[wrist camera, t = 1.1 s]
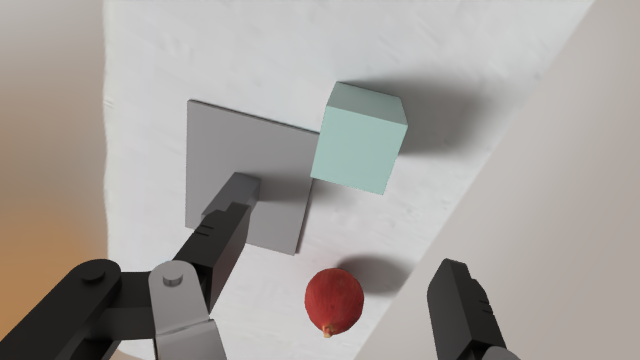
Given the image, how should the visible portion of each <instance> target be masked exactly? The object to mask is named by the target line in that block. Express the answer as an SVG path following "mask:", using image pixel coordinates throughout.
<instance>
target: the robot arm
mask: <svg viewBox="0 0 640 360" xmlns="http://www.w3.org/2000/svg"><path fill="white" fill-rule="evenodd" d="M250 215H251V205H248V204H244V203H240V202H237V201H232V202H231V204H230V205H229V207H228V208H227V210H226V211H221V210H218V209H216V210H215V211H213V212H211V213H209V214H208V215H206V216H205V217H204V219H203V220H202V221H201V223H200V224H199V226H198V227H197V228H196V229H195V231H194V233H192V235H191V236H190V237H189V239H188V240H187V241H186V243H185V244H184V245H183V246H182V248H181V249H180V250H179V252H178V253H177V254H176V256H175V257H174V258H173V260H172V261H168V262H164V263H162V264H160V265H158V266H157V267H155V268H154V269H153V270H152V271H148V272H121V269H120V267H119V265H118V264H117V263H115V262H114V261H111V260H107V259H95V260H90V261H87V262H84V263H82V264H80V265H78V266H76V267H75V268H73V269H72V270H71V271H70V272H69V273H68V274H67V275H66V276H65V277H64V278H63V279H62V280H61V281H60V282H59V283H58V284H57V285H56V286H55V287H54V288H53V289H52V290H51V291H50V292H49V293H48V294H47V295H46V296H45V297H44V298H43V299H42V300H41V301H40V302H39V303H38V304H37V305H36V307H34V308H33V309H32V310H31V311H30V312H29V313H28V314H27V315H26V316H25V317H24V318H23V319H22V321H20V322H19V323H18V324H17V326H15V327H14V328H13V329H12V330H11V331H10V332H9V333H8V334H7V335H6V336H5V337H4V338H3V340H2V341H1V342H0V360H109V359H110V358H111V356H112V355H113V353H114V352H115V350H116V349H117V347H118V346H119V344H120V342H121V341H122V340H138V339H152V340H153V347H154V355H155V360H227V357H226V354H225V351H224V348H223V344H222V341H221V338H220V334H219V331H218V328H217V325H216V322H215V321H214V319H210V317H209V315H210V313H211V311H212V309H213V307H214V305H215V303H216V301H217V299H218V297H219V295H220V293H221V291H222V289H223V287H224V285H225V283H226V281H227V280H228V278H229V276H230V274H231V272H232V270H233V268H234V266H235V264H236V262H237V260H238V258H239V256H240V254H241V252H242V250H243V248H244V246H245V243H246V240H247V235H248V229H249V222H250ZM427 302H428V307H429V313H430V318H431V324H432V329H433V335H434V340H435V346H436V351H437V357H438V360H520V359H519V358H518V357H517V356H516V355H515V354H513V353H512V352H510V351H508V350H507V348H506V345H505V342H504V340H503V337H502V335H501V332H500V329H499V326H498V324H497V321H496V319H495V316H494V315H493V311H492V308H491V306H490V305H489V300H488V298H487V295H486V292H485V291H484V289H483V288H482V287H481V285H480V284H479V283H478V282H477V280H475V279H472V278H471V276H470V273H469V271H468V268H467V266H466V264H465V263H462V262H458V261H454V260H450V259H447V258H446V259H444V260H443V261H442V263H441V265H440V266H439V268H438V270H437V272H436V274H435V275H434V277H433V279H432V281H431V282H430V284H429V287H428V291H427Z"/></svg>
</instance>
